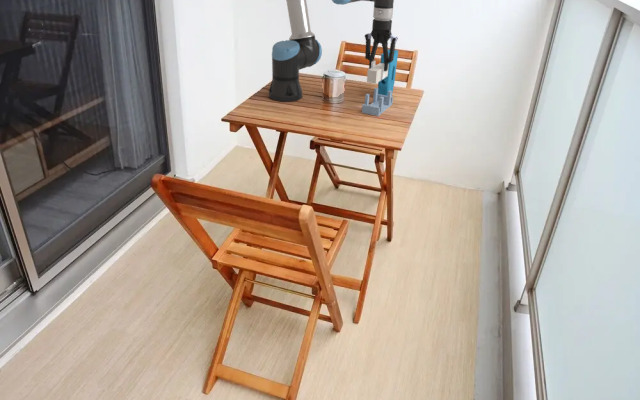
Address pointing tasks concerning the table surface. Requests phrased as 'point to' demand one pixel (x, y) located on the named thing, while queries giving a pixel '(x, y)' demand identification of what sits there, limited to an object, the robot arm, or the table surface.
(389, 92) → the rack
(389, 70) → the block
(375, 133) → the table surface
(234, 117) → the table surface
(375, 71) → the white rectangular bar
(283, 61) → the robot arm
